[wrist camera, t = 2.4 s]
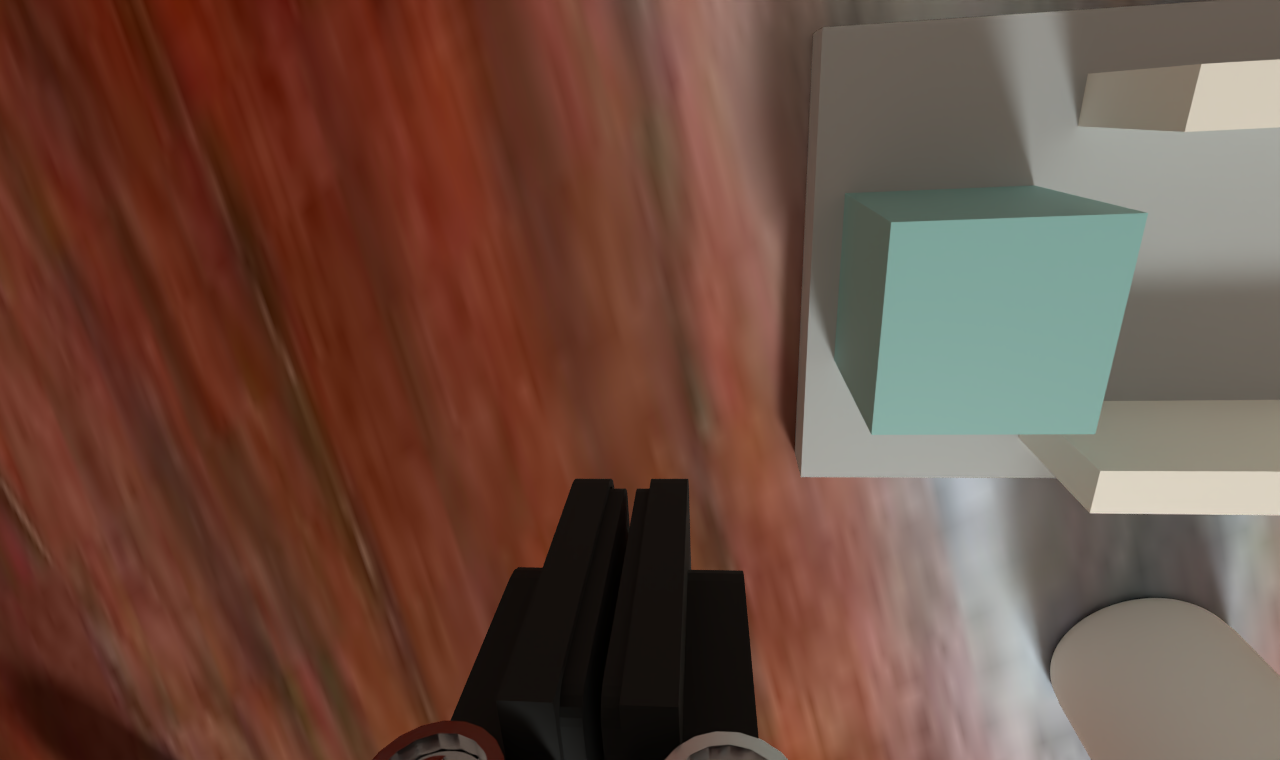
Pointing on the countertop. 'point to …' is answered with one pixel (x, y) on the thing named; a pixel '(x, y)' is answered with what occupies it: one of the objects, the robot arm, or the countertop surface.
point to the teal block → (982, 308)
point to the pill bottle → (1166, 685)
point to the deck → (1091, 168)
